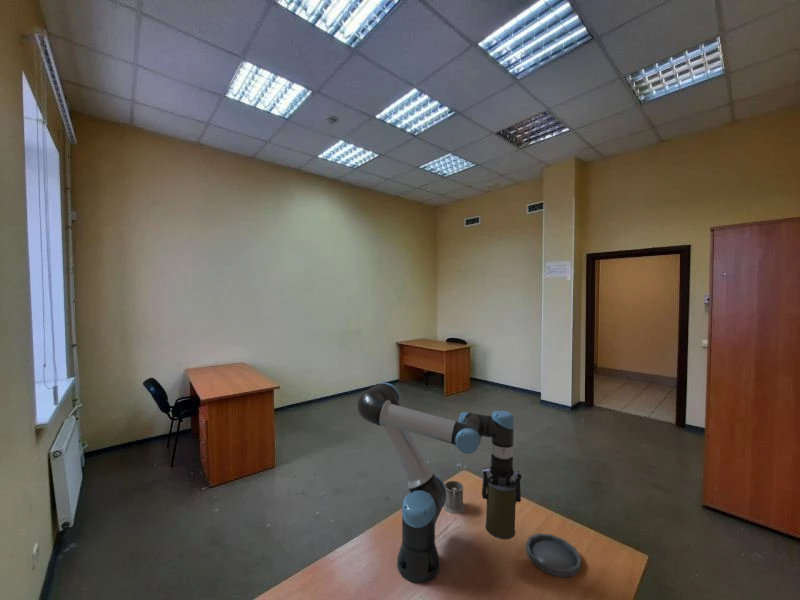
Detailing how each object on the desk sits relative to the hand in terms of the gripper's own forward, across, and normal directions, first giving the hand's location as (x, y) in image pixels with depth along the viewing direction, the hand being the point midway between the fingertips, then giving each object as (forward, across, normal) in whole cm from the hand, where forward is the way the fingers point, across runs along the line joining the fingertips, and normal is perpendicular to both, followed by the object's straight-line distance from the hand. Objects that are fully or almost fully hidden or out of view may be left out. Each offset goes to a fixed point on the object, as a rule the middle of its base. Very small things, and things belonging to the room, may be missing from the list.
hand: (500, 518), depth 120 cm
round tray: (+15, +20, +4) cm, 25 cm away
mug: (+16, -15, +27) cm, 35 cm away
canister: (+4, 0, 0) cm, 4 cm away
